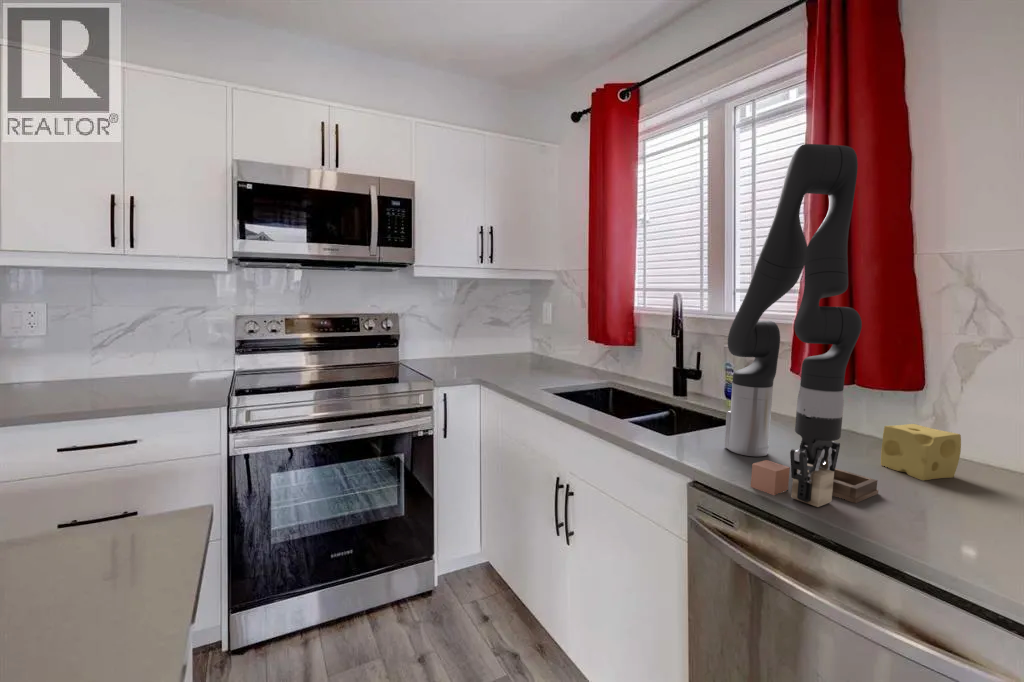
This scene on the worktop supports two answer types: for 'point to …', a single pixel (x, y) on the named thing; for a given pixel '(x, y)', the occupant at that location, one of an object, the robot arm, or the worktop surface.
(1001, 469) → the worktop surface
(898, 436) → the cheese
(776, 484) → the top block
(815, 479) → the base block
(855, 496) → the socket board
